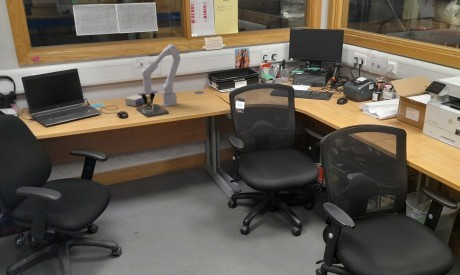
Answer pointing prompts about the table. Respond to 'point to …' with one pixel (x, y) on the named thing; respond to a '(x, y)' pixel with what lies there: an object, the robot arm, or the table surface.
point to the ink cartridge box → (134, 100)
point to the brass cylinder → (148, 100)
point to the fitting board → (156, 111)
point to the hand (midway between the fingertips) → (148, 103)
